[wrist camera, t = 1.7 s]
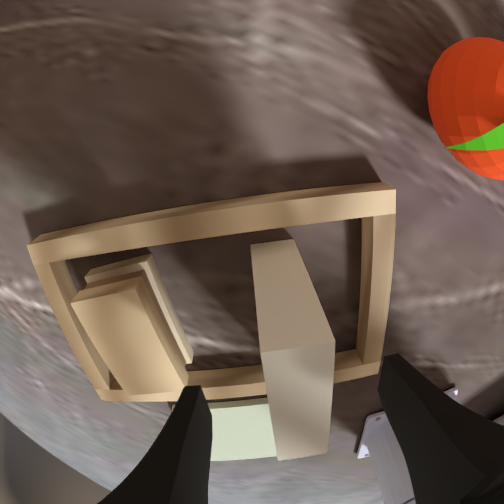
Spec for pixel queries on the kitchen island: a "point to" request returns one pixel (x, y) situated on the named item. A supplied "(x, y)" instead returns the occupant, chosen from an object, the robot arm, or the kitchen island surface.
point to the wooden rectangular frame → (218, 224)
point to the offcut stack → (135, 326)
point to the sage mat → (241, 430)
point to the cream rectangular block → (293, 350)
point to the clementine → (471, 103)
